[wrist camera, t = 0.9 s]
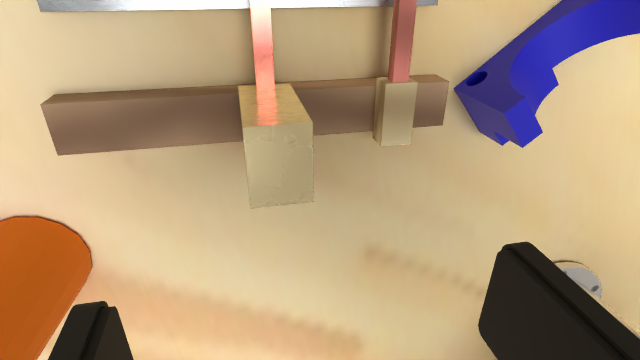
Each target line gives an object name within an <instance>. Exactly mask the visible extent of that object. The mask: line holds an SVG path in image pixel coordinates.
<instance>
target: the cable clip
mask: <svg viewBox="0 0 640 360" xmlns="http://www.w3.org/2000/svg"><path fill="white" fill-rule="evenodd" d="M639 33H640V0H562V1H561V2H560V3H558V4H557V5H556V6H555V7H553V8H552V9H551V10H550V11H548V12H547V13H546V14H545V15H544V16H542V17H541V18H540V19H539V20H537V21H536V22H535V23H534V24H532V25H531V26H530V27H529V28H528V29H526V30H525V31H524V32H523V33H521V34H520V35H519V36H518V37H516V38H515V39H514V40H513V41H512V42H510V43H509V44H508V45H507V46H505V47H504V48H503V49H502V50H500V51H499V52H498V53H497V54H496V55H494V56H493V57H492V58H491V59H489V60H488V61H487V62H486V63H485V64H483V65H482V66H481V67H480V68H478V69H477V70H476V71H475V72H473V73H472V74H471V75H470V76H469V77H467V78H466V79H465V80H464V81H462V82H461V83H460V84H459V85H457V86H456V87H455V88H454V90H455V91H456V93H457V95H458V96H459V98H460V100H461V101H462V103H463V105H464V106H465V108H466V110H467V111H468V113H469V115H470V116H471V118H472V120H473V121H474V123H475V125H476V126H477V128H478V130H479V131H480V132H481V133H483V134H484V135H486V136H487V137H489V138H491V139H492V140H494V141H496V142H497V143H499V144H500V145H502V146H503V145H504V144H505V143H507V142H508V141H509V140H510V141H512V142H513V143H515V144H517V145H519V146H520V147H522V148H523V147H524V146H526V145H527V144H528V143H530V142H531V141H532V140H533V139H535V138H536V137H537V136H539V135H540V134H541V133H543V131H542V129H541V127H540V125H539V123H538V121H537V119H536V117H535V114H536V111H537V109H538V107H539V105H540V104H541V102H542V101H543V99H544V98H545V97H546V96H547V95H548V94H549V93H550V92H551V91H552V90H553V89H554V88H555V87H556V86H558V85H559V84H558V81H557V79H556V77H555V74H554V72H553V70H552V68H553V67H555V66H556V65H557V64H559V63H560V62H562V61H563V60H565V59H567V58H568V57H570V56H572V55H574V54H576V53H578V52H580V51H582V50H584V49H586V48H588V47H591V46H593V45H596V44H598V43H601V42H604V41H607V40H610V39H614V38H618V37H622V36H627V35H632V34H639Z"/></svg>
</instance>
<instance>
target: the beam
mask: <svg viewBox="0 0 640 360" xmlns="http://www.w3.org/2000/svg"><path fill="white" fill-rule="evenodd" d="M416 5H417V0H394V9H393V22H392V34H391V46H390V59H389V71H388V77H379V78H362V79H343V80H324V81H305V82H286V83H275V84H289V83H290V85H291V86H292V88H293V90H294V91H295V93H296V95H297V97H298V98H299V100H300V102H301V103H302V105H303V107H304V108H305V110H306V112H307V114H308V115H309V117H310V119H311V120H312V122H313V135H325V134H338V133H350V132H363V131H373V139H374V140H375V141H376V142H377V143H378V144H379V145H380V146H381V147H385V146H397V145H408V144H411V135H412V128H414V127H427V126H439V125H443V119H444V112H445V106H446V99H447V93H448V86H449V81H447V80H445V79H443V78H441V77H439V76H437V75H420V76H409V72H410V62H411V53H412V43H413V34H414V24H415V15H416ZM251 85H256V84H248V85H229V86H210V87H191V88H172V89H152V90H133V91H114V92H95V93H76V94H57V95H53V96H52V97H50V98H49V99H48V100H46V101H45V102H43V103H42V104H40V105H41V108H42V111H43V114H44V117H45V119H46V122H47V125H48V128H49V131H50V134H51V137H52V140H53V143H54V146H55V149H56V151H57V154H58V155H71V154H83V153H96V152H109V151H122V150H134V149H147V148H160V147H172V146H185V145H198V144H211V143H223V142H236V141H243V131H242V121H241V111H240V101H239V91H238V86H251Z"/></svg>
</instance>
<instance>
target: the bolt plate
mask: <svg viewBox="0 0 640 360" xmlns="http://www.w3.org/2000/svg"><path fill="white" fill-rule="evenodd" d="M37 2H38V5H39V8H40V11H41V12H63V11H123V10H183V9H242V8H250V4H249V0H37ZM421 5H438V0H417V5H416V6H421ZM362 6H394V0H270V8H302V7H362Z"/></svg>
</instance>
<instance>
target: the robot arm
mask: <svg viewBox="0 0 640 360" xmlns="http://www.w3.org/2000/svg"><path fill="white" fill-rule="evenodd" d="M600 298H601V283H600V281H599V279H598V277H597V276H596V275H595V274H594V273H593V272H592V271H591V270H590V269H588V268H587V267H585V266H584V265H582V264H578V263H575V262H561V263H553V262H552V261H551V260H549V259H548V258H547V257H546V256H545V255H544V254H543V253H542V252H540V251H539V250H538V249H537V248H536V247H535V246H534V245H532V244H531V243H529V242H520V243H513V244H507V245H504V246H503V247H502V250H501V251H499V252H498V254H497V256H496V260H495V264H494V268H493V271H492V275H491V279H490V282H489V286H488V290H487V293H486V297H485V301H484V304H483V308H482V312H481V315H480V319H479V324H478V327H479V332H480V334H481V336H482V338H483V339H484V341H485V342H486V344H487V345H488V346H489V348H490V349H491V351H492V352H493V354H494V355H495V356H496V358H497V359H498V360H640V333H639V332H637V331H636V330H635V329H634V328H633V327H632V326H631V325H629V324H628V323H627V322H626V321H625V320H624V319H622V318H621V317H620V316H619V315H618V314H617V313H616V312H614V311H613V310H612V309H611V308H610V307H609V306H607V305H606V304H605V303H604V302H603V301H602V300H601V299H600ZM48 360H133V357H132V353H131V350H130V347H129V344H128V341H127V338H126V335H125V332H124V329H123V326H122V323H121V320H120V317H119V313H118V310H117V308H116V307H115V306H113V307H108V305H107V303H106V302H105V301H100V302H92V303H85V304H78V305H75V306H73V307H72V309H71V311H70V313H69V315H68V317H67V319H66V322H65V324H64V326H63V328H62V330H61V332H60V335H59V337H58V339H57V341H56V343H55V345H54V348H53V350H52V352H51V354H50V356H49V358H48Z"/></svg>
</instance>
